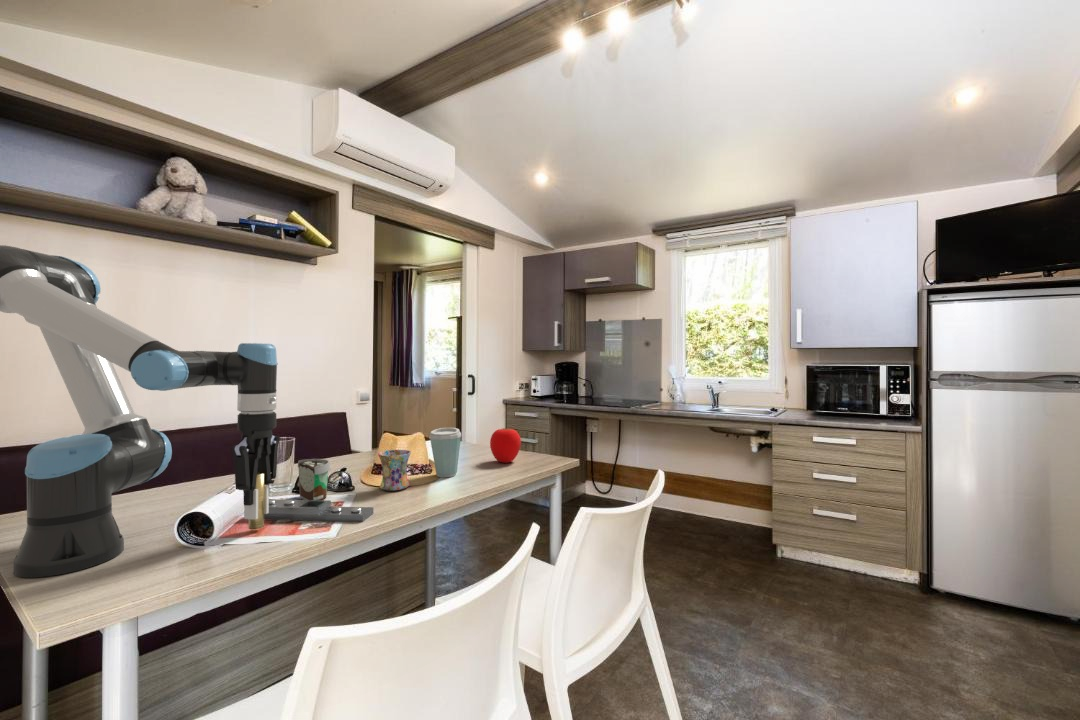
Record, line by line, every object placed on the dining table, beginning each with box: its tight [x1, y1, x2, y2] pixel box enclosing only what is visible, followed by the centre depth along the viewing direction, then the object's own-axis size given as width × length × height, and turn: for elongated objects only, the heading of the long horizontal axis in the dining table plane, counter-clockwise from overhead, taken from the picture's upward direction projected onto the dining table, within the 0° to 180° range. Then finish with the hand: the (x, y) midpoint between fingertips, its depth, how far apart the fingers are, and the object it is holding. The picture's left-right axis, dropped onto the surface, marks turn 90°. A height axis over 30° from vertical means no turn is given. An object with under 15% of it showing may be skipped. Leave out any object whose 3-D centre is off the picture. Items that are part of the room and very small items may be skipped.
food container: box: [297, 458, 332, 500], centre depth 132 cm, size 12×6×10 cm, turn 47°
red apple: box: [489, 426, 522, 464], centre depth 174 cm, size 11×11×13 cm
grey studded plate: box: [264, 498, 374, 523], centre depth 116 cm, size 28×6×4 cm, turn 86°
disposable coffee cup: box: [428, 427, 462, 478], centre depth 156 cm, size 11×11×15 cm
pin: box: [248, 472, 265, 530], centre depth 107 cm, size 3×3×12 cm
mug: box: [377, 449, 412, 491], centre depth 141 cm, size 12×9×11 cm
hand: (256, 515), depth 107 cm, fingers closed on pin, 3 cm apart
